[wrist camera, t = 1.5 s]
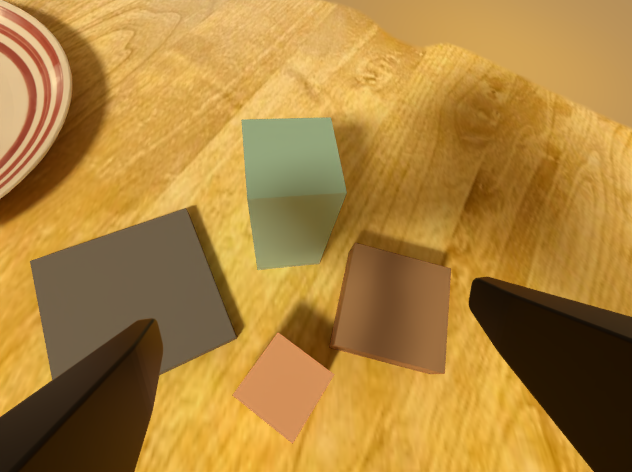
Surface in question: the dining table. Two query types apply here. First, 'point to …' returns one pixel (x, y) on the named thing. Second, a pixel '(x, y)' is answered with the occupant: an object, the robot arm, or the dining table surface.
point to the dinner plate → (29, 93)
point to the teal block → (292, 188)
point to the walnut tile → (393, 310)
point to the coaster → (131, 293)
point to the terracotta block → (284, 386)
